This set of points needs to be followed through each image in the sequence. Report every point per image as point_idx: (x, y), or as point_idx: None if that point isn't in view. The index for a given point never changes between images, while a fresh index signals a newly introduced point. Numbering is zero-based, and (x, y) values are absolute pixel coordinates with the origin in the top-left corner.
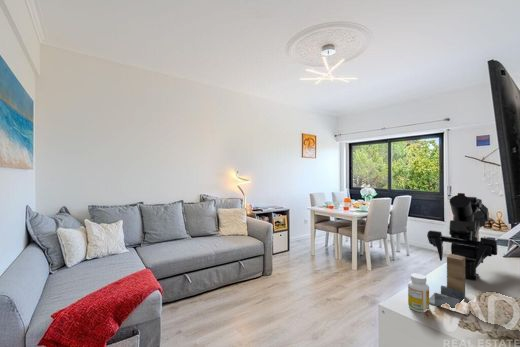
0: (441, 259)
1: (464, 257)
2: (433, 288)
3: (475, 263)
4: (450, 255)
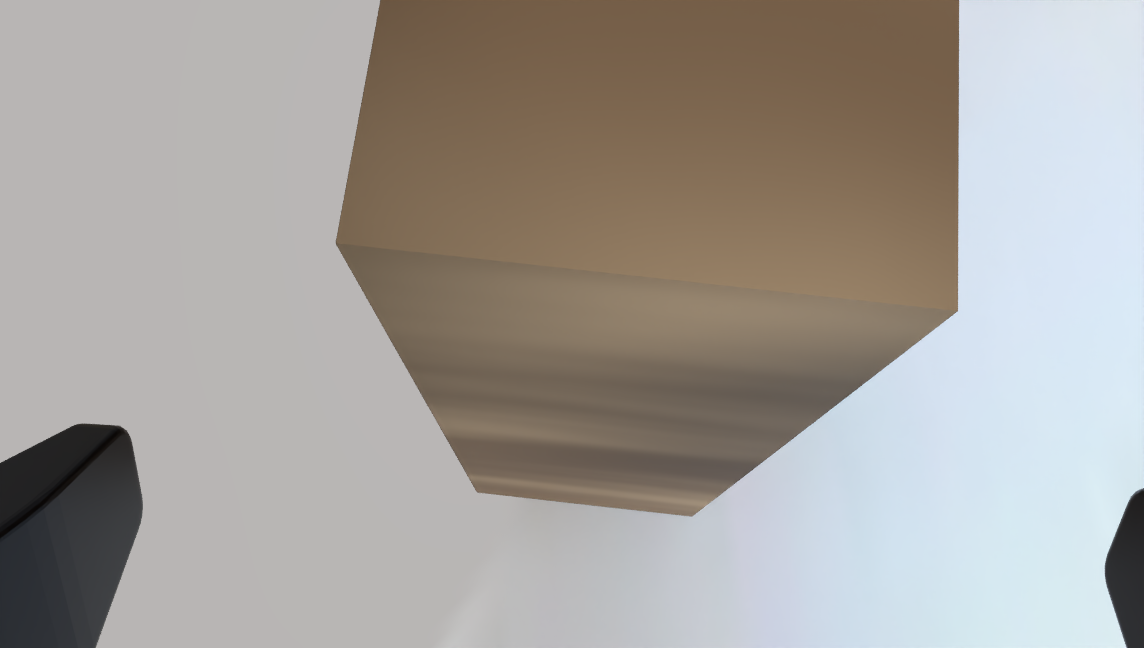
0: (1133, 541)
1: (362, 120)
2: (937, 501)
3: (55, 468)
4: (885, 54)
